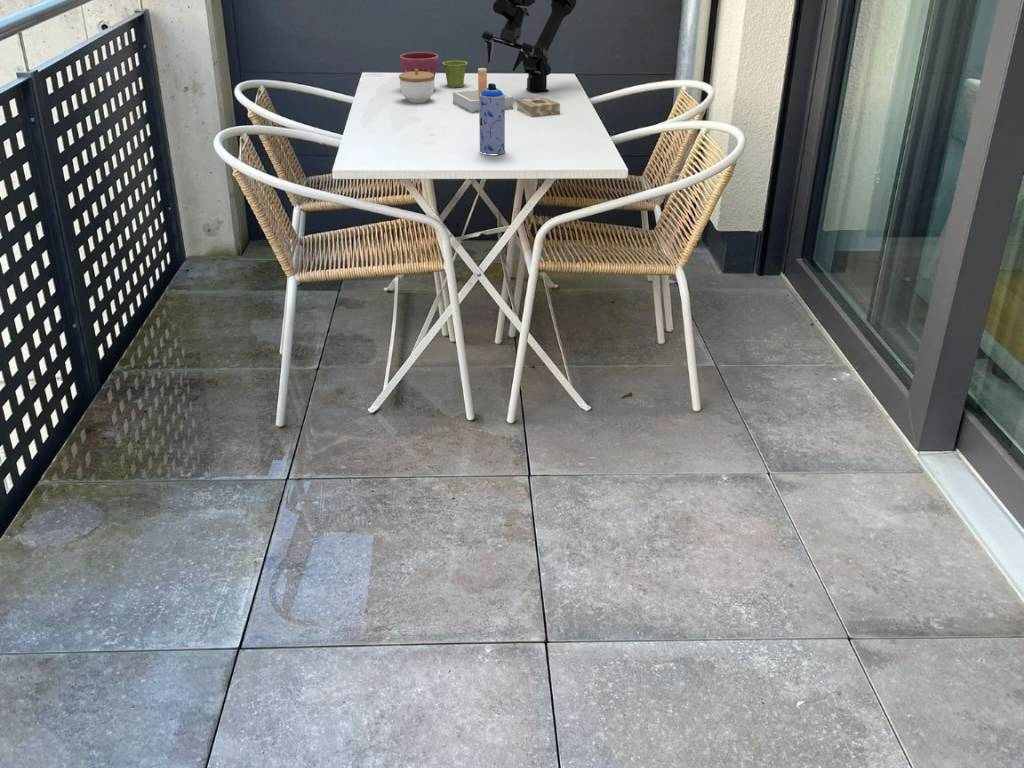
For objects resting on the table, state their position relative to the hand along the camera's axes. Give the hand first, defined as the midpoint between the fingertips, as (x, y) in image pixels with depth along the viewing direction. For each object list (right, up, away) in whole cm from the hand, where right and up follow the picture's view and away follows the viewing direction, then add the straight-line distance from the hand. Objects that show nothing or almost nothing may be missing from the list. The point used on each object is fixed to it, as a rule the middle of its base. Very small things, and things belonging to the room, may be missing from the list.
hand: (500, 67), depth 361 cm
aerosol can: (-2, -44, -57) cm, 72 cm away
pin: (-6, -14, -4) cm, 16 cm away
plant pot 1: (-30, -3, +19) cm, 36 cm away
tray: (-6, -15, -4) cm, 16 cm away
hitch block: (+13, -19, -11) cm, 25 cm away
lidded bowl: (-30, -11, +3) cm, 32 cm away
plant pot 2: (-18, +1, +26) cm, 31 cm away
